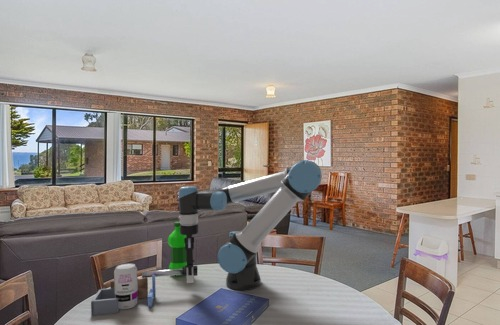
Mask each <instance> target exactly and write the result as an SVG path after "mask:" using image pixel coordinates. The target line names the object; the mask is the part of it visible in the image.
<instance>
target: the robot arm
mask: <svg viewBox="0 0 500 325" xmlns="http://www.w3.org/2000/svg"><path fill="white" fill-rule="evenodd" d="M321 182H322V170H321V168H320V166H319V165H318V164H317V163H315V162H314V161H312V160H309V159H308V160H307V159H303V160H300V161H297V162H296V163H294V164H293V165H292V166H288V167H285V168H284V170H283V171H279V172H276V173H272V174H268V175H264V176H261V177H257V178H254V179H249V180H246V181H243V182H239V183H235V184H231V185H228V186H225V187H220V188H218V189H215V190H211V191H210V190H208V191H199V190H198V187H197V186H194V185H193V186H192V185H191V186H181V187H180V188H179V189H178V190H179V192H178V207H179V216H178V217H177V219H179V222H180V224H181V225H180V234H181V235H186V238H184V243H185V250H186V253H187V258H186V259H187V265H186V266H185V268H187V276H186V284H190V283H191V284H193V283H194V276H193V266H194V263H195V259H194V256H193V255H194V254H193V253H194V252H193V250H194V249H195V247H194V246H195V244H194V243H195V236H193V235H196V234H198V233H199V211H223V210H225V209H226V207H227V205H231V204H233V203H237V202H240V201H245V200H248V199H252V198H257V197H260V196H264V195H269V194H272V193H273V195H272V196H271V197H270V198H269V200H268V201H267V202H266V203H265V204H264V206H262V207H261V208H260V210H259V211H258V212H257V213H256V214H255V215H254V216H253V218H252V219H251V220H250V221H249V222H248V223H247V225H246V226H245V227H244V228H243V229H242V230H236V231H235V230H234V231H230V232H229V235H228V240H227V241H226V243H224V244H223V245H222V246H221V247H220V248H219V250H218V253H217V263H218V264H219V267H220V268H221V269H223V271H224V272H227V275H226V280H225V281H226V282H225V285H226V286H227V287H228V288H230V289H231V290H237V291H238V290H239V291H246V290H247V291H248V290H253V289H256V288H258V287H260V286H261V283H262V281H261V280H262V278H261V275H260V273H259V270H258V267H257V253H258V252H259V245H260V244H261V243H262V242H264V240H265V239H266V238H267V236H268V235H269V234H270V233H271V232H272V231H273V230H274V228H276V227H277V225H278V224H279V223H280V222H281V221H282V220H283V219H284V218H285V217H286V215H287V214H288V213H289V212H290V211H291V209H292V208H294V207H295V205H296V204H297V203H298V202H304V201H305V200H306V199H307V198H308V197H309V196H310V195H311V194H312V193H313V192H314V191H315V190H316V189H317V188H319V186H320V184H321Z"/></svg>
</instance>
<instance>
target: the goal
mask: <svg viewBox="0 0 500 325" xmlns="http://www.w3.org/2000/svg"><path fill="white" fill-rule="evenodd" d="M90 313H91V316H99V315H100V316H101V315H110V314H118V313H119V309H118V298H115V288H111V287H109V288H108V287H107V288H100V289H99V288H98V291H97V292H96V293H95V295H94V297H93V298H92V299H91V301H90Z"/></svg>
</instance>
